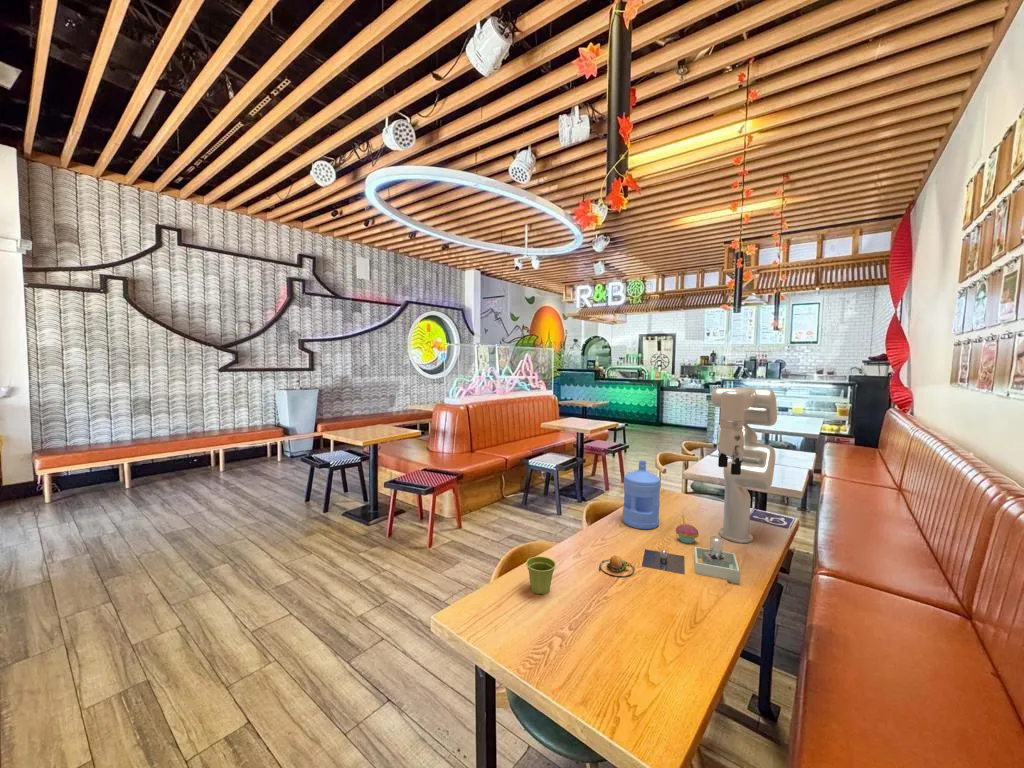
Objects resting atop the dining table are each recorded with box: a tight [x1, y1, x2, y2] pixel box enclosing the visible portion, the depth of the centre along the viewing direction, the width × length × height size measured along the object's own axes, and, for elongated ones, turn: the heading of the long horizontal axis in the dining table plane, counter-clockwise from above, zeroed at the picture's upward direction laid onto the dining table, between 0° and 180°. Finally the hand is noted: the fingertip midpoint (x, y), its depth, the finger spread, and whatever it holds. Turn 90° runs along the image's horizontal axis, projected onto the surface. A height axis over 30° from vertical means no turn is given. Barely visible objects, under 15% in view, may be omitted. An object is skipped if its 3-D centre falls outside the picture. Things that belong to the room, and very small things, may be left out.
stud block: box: [641, 548, 686, 576], centre depth 151 cm, size 14×14×5 cm
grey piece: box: [701, 535, 730, 568], centre depth 147 cm, size 6×6×11 cm
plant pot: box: [525, 555, 557, 595], centre depth 134 cm, size 9×9×9 cm
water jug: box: [622, 460, 661, 530], centre depth 187 cm, size 16×16×28 cm
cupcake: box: [675, 512, 700, 544], centre depth 169 cm, size 9×8×12 cm
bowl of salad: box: [598, 555, 635, 578], centre depth 146 cm, size 12×12×8 cm
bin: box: [693, 546, 740, 585], centre depth 147 cm, size 13×13×5 cm
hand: (729, 470), depth 154 cm, fingers open, 9 cm apart
